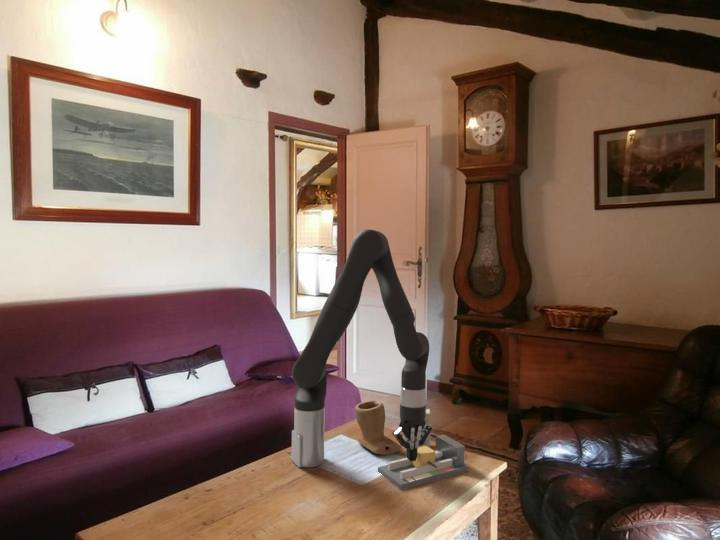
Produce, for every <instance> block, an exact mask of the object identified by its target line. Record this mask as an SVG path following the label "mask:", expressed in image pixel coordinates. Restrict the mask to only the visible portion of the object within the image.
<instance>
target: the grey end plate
mask: <svg viewBox="0 0 720 540" xmlns="http://www.w3.org/2000/svg"><path fill="white" fill-rule="evenodd" d="M465 448H466V446H465V444H462V443H460V442H458V441H456V440H455V439H453V438H452V437H449V436H447V435H446V434H439V435H436V437H435V451H441V452H442V453H443V456H442V457H440V458H442V459H443V460H446V459H452V465H453V466H454V467H456V468H457V467H461V466H464V465H465V456H466V455H465V453H466V451H465V450H466V449H465Z"/></svg>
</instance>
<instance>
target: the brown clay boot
mask: <svg viewBox="0 0 720 540" xmlns="http://www.w3.org/2000/svg"><path fill="white" fill-rule="evenodd" d="M385 410H386V409H385V405H384V404H383V403H382V402H381V401H377V400H373V399H372V400H366V401H362V402H360V403H358V404H356V405H355V408H354V416H355V419H356V422H357V425H358V426H359V429H360V433H361V435H360V436H358V437H357V441H358V443H359V444H360V445H361V446H363V447H364V448H365V449H367V450H369V451H371V452H372V453H374V454H377V455H382V456H383V455H384V456H387V455H392V454H395V453H397V452H400V451H401V450H402V448H403V446H401V445H400V443H397V442H396V441H394V440H392V439H391V438H389V437H388V436H386V435H385V432H384V431H385V425H386V411H385Z"/></svg>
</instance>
